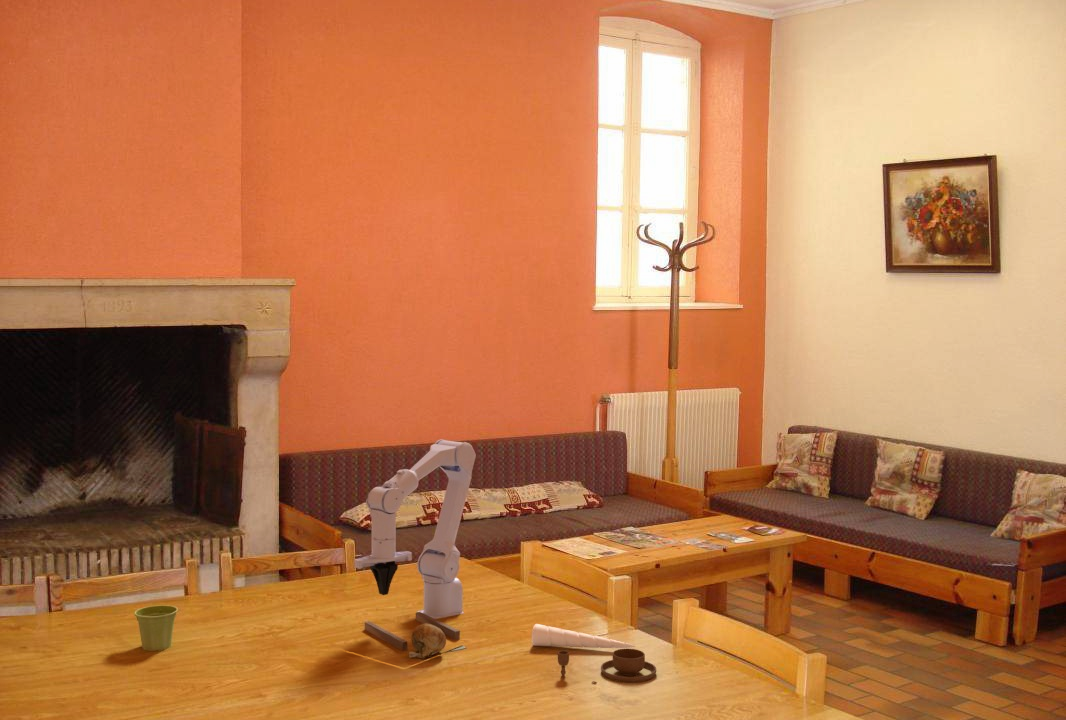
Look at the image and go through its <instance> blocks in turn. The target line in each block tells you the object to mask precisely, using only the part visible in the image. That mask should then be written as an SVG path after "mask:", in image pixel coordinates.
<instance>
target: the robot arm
mask: <svg viewBox="0 0 1066 720" xmlns="http://www.w3.org/2000/svg"><path fill="white" fill-rule="evenodd" d="M476 457H477V454H476V451H475V449H474V447H473V446H472V444H471V443H469V442H465V441H464V442H460V441H452V440H446V439H442V438H441V439H438V440H437V441H435V443H433V444H431V445H430V446H429V451H428V452H427V453H426V454H425V455H424V456H422V457H421V458H420V459H419V460H418V461H417V462H416V463H415V464H414V465H413V466H412V467H411V468H410V469H407V468H404V469H399V470H397V471H396V474H394V476H393V477H391V478H390V479H389V480H386V481H385V482H383V484H382V485H381V486H376V487H374V488H372V489H371V490H370V491H369V493H368V494H367V498H366V499H365V503H366V507H367V508H368V510H369V516H370V518H371V554H370V555H366V556H363V557H359V558H355V559H354V568H355V569H358V570H361V569H363V568H366V567H367V568H368V567H369V569H370V571H371V572H372V575H373V577H374V579H375V582H376V585H377V589H378V594H379V595H382V596H386V595H388V594H389V590H390V587H391V583H392V581H393V579H394V576H395V574H396V572H397V570H398V566H399V565H398V564H396V563H399V562H404V561H405V562H406V561H409V562H410V561H413V556H412V555H413V552H412V551H408V550H405V551H396V550H397V548H396V546H397V544H396V543H397V541H396V539H397V537H396V536H397V534H396V533H397V532H396V531H397V527H396V526H397V525H396V523H397V521H396V520H397V518H396V517H397V512H398V511H399V510H400V508H401V505H402V502H403V501H404V499H405V498H407V497H408V496H409V495H410V494H412V493H413V492H414V491H415V490H417V488H418V487H419V482H420V480H421V479H423V478H425V477H427V475H428V474H430V473H432V472H433V471H434V470H436V469H438V468H440V469H441V470H442V471H443V473H445V474H446V476H447V478H448V483H447V486H446V489H445V493H444V498H443V501H442V505H441V509H440V513H439V516H438V520H437V524H436V527H435V532H434V536H433V538H432V540H430V541H428V542H427V543H426V544H425V545H424V546H423V550H422V551H421V554H420V555H419V557H418V559H417V562H416V563H417V564H416V567H417V571H418V573H419V574H420V575H421V579H422V580H423V609H422V610H421V609H420V610H417V611H416V612H421V613H423V614H426V615H428V616H430V617H432V618H434V619H436V620H438V619H442V618H448V617H451V616H452V617H453V616H456V615H457V616H458V615H462V614H463V615H464V614H465V612H464V611H463V608H464V606H463V602H464V601H463V600H464V599H463V595H464V594H463V593H464V591H463V584H462V582H461V579H459V578H458V577H457V576H458V575H459V570H460V558H461V552H460V551H459V550H458V548H457V547H456V544H455V543H456V539H457V536H458V535H457V534H458V532H459V531H458V530H459V527H460V523H461V519H462V516H463V512H464V509H465V504H466V500H467V496H468V492H469V489H470V484H471V481H472V474H473V468H474V464H475V461H476Z"/></svg>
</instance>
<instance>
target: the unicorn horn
mask: <svg viewBox="0 0 1066 720" xmlns="http://www.w3.org/2000/svg"><path fill="white" fill-rule="evenodd" d="M531 644H532V645H533V646H538V647H539V646H541V647H561V648H562V647H563V648H565V647H566V648H567V647H569V648H589V649H591V648H592V649H596V648H598V649H599V648H600V649H633V648H635V647H636V646H635V644H634V645H633V644H631V643H629V642H628V643H627V642H623V641H619V640H615V639H611V638H607V637H602V636H597V635H592V634H587V633H584V632H577V631H574V630H568V629H562V628H560V627H554V626H549V625H548V626H547V625H544V624H539V623H535V624H534V625H533V627H532V631H531Z"/></svg>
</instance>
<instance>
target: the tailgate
mask: <svg viewBox="0 0 1066 720" xmlns="http://www.w3.org/2000/svg"><path fill="white" fill-rule="evenodd" d="M466 649H467V647H466V646H464V645H460V646H457V647H454V648H451V649H449V650H446V651H443V652H441V653H440V655H441V654H446V653H451V652H457V651H461V650H466Z"/></svg>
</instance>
